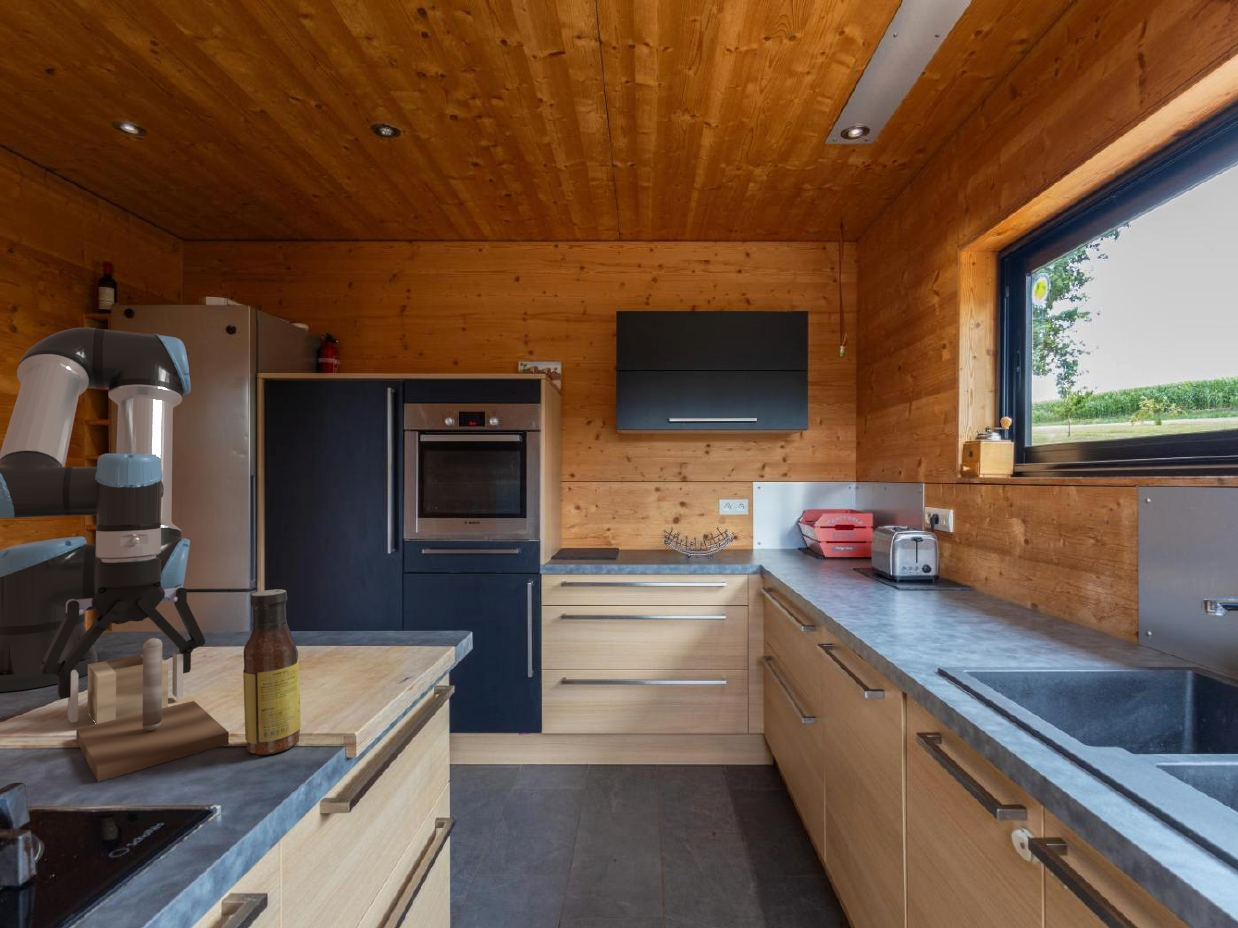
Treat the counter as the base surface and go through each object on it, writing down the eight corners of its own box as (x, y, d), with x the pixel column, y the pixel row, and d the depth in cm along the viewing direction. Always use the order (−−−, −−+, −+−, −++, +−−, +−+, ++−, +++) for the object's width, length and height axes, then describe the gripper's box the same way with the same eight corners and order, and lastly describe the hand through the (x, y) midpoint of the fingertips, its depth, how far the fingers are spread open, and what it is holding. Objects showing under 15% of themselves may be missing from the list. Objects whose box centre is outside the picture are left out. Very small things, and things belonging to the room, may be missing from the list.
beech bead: (87, 712, 89) (87, 664, 89) (154, 696, 95) (155, 652, 95) (97, 727, 84) (97, 676, 84) (167, 710, 90) (168, 662, 90)
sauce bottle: (310, 736, 81) (311, 587, 81) (280, 758, 75) (281, 597, 75) (264, 734, 82) (265, 586, 82) (230, 756, 75) (231, 596, 76)
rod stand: (76, 740, 80) (77, 637, 80) (193, 710, 90) (194, 619, 90) (97, 781, 69) (99, 662, 69) (228, 743, 79) (229, 639, 79)
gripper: (18, 570, 78) (16, 741, 78) (229, 552, 96) (228, 690, 96) (13, 564, 83) (11, 724, 83) (215, 548, 101) (214, 679, 101)
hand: (127, 706), depth 89 cm, fingers open, 11 cm apart
